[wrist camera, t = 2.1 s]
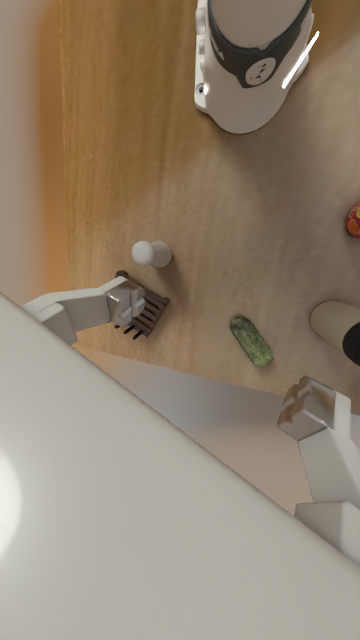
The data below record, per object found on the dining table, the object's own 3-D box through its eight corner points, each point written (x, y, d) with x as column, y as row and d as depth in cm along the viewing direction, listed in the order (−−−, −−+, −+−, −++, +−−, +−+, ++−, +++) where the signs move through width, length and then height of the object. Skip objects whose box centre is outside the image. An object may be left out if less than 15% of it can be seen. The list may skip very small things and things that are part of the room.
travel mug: (305, 332, 46) (353, 376, 29) (314, 298, 43) (373, 324, 26) (343, 337, 44) (418, 386, 27) (356, 302, 42) (446, 332, 25)
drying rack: (123, 270, 50) (107, 272, 43) (170, 299, 50) (161, 306, 43) (107, 305, 54) (90, 312, 47) (151, 333, 54) (140, 344, 47)
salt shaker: (154, 269, 48) (131, 273, 36) (147, 245, 47) (121, 241, 35) (176, 263, 47) (160, 265, 35) (170, 238, 46) (151, 231, 33)
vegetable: (274, 354, 48) (280, 364, 44) (255, 363, 50) (258, 374, 46) (242, 308, 47) (245, 314, 42) (224, 320, 49) (224, 326, 44)
